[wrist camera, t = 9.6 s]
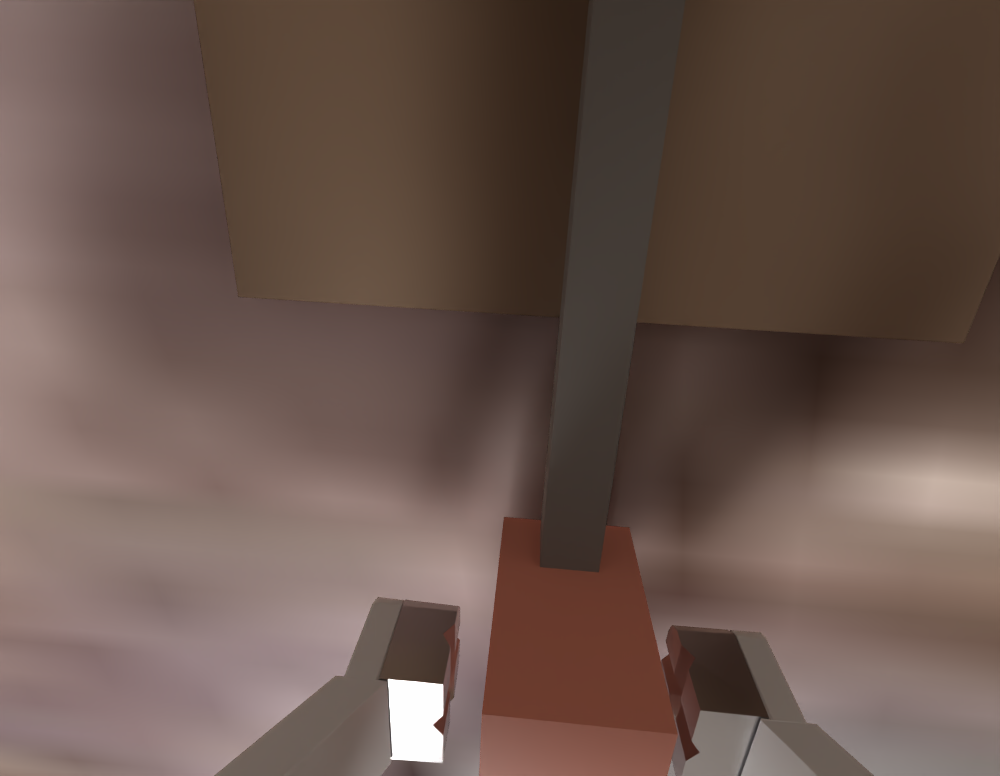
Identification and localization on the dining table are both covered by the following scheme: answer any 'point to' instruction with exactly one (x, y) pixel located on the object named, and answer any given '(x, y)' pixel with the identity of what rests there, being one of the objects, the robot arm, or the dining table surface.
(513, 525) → the block
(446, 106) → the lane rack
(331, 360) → the dining table surface
